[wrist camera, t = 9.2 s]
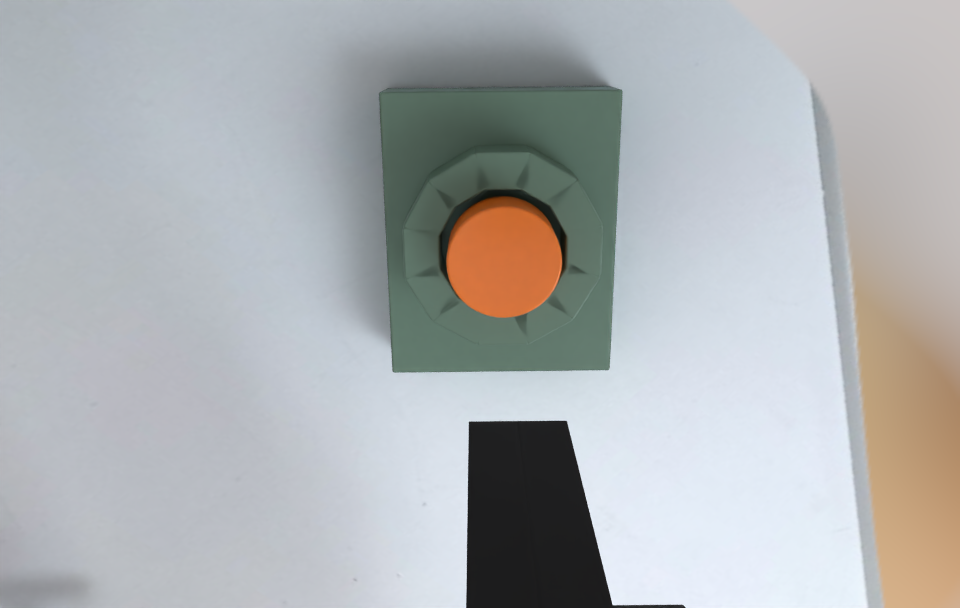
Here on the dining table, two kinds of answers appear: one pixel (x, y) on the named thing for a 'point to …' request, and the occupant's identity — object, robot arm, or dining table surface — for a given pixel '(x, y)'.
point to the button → (503, 257)
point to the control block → (491, 173)
